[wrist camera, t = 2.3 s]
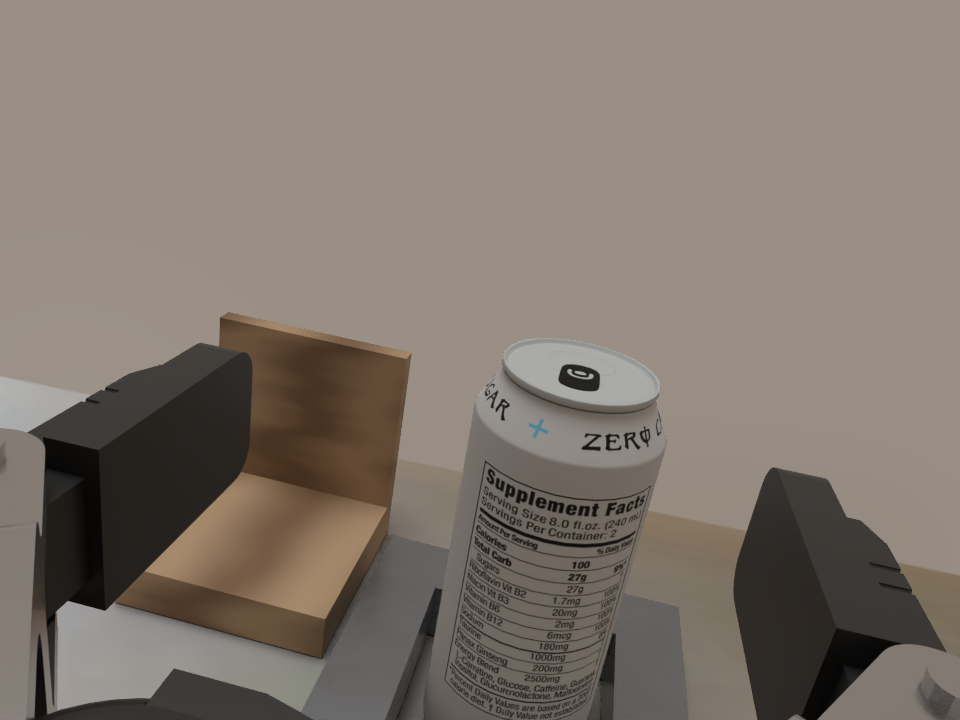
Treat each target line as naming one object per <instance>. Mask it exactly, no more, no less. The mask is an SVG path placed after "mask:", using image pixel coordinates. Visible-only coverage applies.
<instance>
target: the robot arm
mask: <svg viewBox="0 0 960 720" xmlns="http://www.w3.org/2000/svg"><path fill="white" fill-rule="evenodd" d="M252 375H253V367H252V361H251V358H250V356H249V355H248V354H247V353H246V352H241V351H237V350H232V349H227V348H223V347H218V346H213V345H208V344H204V343H199V344H196V345H195V346H193V347H191V348H190V349H188V350H186V351H185V352H183V353H181V354H180V355H178V356H176V357H175V358H173V359H171V360H170V361H168V362H166V363H165V364H163V365H159V366H155V367H152V368H148V369H144V370H141V371H137V372H134V373H130V374H128V375H126V376H124V377H122V378H121V379H119V380H117V381H116V382H114V383H112V384H111V385H109V386H107V387H106V389H105V391H103V390H100V391H98V392H97V393H95V394H93V395H91V396H90V397H88V398H86V401H85V402H79V403H78V404H76V405H74V406H72V407H71V408H69V409H67V410H65V411H64V412H62V413H60V414H59V415H57V416H55V417H53V418H52V419H50V420H48V421H46V422H45V423H43V424H41V425H40V426H38V427H36V428H34V429H33V430H31V431H29V432H27V433H26V432H23V431H18V430H12V429H2V428H0V720H313V719H311V718H310V717H308V716H306V715H304V714H302V713H301V712H299V711H297V710H295V709H293V708H292V707H290V706H288V705H286V704H284V703H283V702H281V701H279V700H277V699H275V698H274V697H272V696H270V695H268V694H266V693H262V692H258V691H255V690H251V689H247V688H244V687H240V686H236V685H233V684H229V683H225V682H222V681H218V680H214V679H211V678H207V677H203V676H200V675H196V674H192V673H189V672H185V671H181V670H178V669H173V670H172V672H171V673H170V674H169V675H168V677H167V678H166V679H165V681H164V682H163V683H162V684H161V686H160V687H159V688H158V690H157V691H156V692H155V693H154V695H153V696H152V697H151V699H147V698H135V699H117V700H108V701H101V702H94V703H88V704H83V705H79V706H75V707H71V708H66V709H62V710H59V711H57V657H58V627H57V613H56V611H57V610H58V609H59V608H60V607H62V606H63V605H64V604H65V603H66V602H67V601H71V602H74V603H78V604H82V605H86V606H89V607H93V608H97V609H101V610H104V611H106V610H107V609H108V608H109V607H110V606H111V605H112V604H113V603H114V602H115V601H116V600H117V599H118V598H119V597H120V596H121V595H122V594H123V593H124V592H125V591H126V590H127V589H128V588H129V587H130V586H131V585H132V584H133V583H134V581H135V580H136V579H137V578H138V577H139V576H140V575H141V574H142V573H143V572H144V571H145V570H146V569H147V568H148V567H149V566H150V565H151V564H152V563H153V562H154V561H155V560H156V559H157V558H158V557H159V556H160V555H161V554H162V553H163V552H164V551H165V550H166V549H167V548H168V547H169V546H170V545H171V544H172V543H173V542H174V541H175V540H176V539H177V538H178V537H179V536H180V535H181V534H182V533H183V532H184V531H185V530H186V529H187V528H188V527H189V526H190V525H191V524H192V523H193V522H194V521H195V520H196V519H197V518H198V517H199V516H200V515H201V514H202V513H203V512H204V511H205V510H206V509H207V508H208V507H209V506H210V505H211V504H212V503H213V502H214V501H215V500H216V499H217V498H218V497H219V496H220V495H221V494H222V493H223V492H224V491H225V490H226V489H227V488H228V487H229V486H230V485H231V484H232V483H233V482H234V481H235V480H236V479H237V477H238V476H239V474H240V473H241V471H242V469H243V467H244V464H245V461H246V458H247V455H248V450H249V443H250V423H251V399H252ZM900 570H901V569H900V567H899V565H898V563H897V562H896V560H895V558H894V556H893V554H892V552H891V551H890V549H889V547H888V545H887V544H886V543H884V542H883V540H881V539H880V538H879V537H878V536H877V535H876V534H875V533H874V532H872V531H871V530H870V529H869V528H868V527H867V526H866V525H865V524H864V523H863V522H861V521H860V520H856V519H852V518H847V517H846V515H845V513H844V511H843V509H842V507H841V505H840V503H839V501H838V499H837V497H836V495H835V493H834V491H833V489H832V487H831V485H830V483H829V481H828V480H827V479H825V478H820V477H816V476H811V475H806V474H802V473H797V472H792V471H788V470H783V469H778V468H771V469H770V470H769V472H768V473H767V475H766V477H765V479H764V481H763V484H762V487H761V490H760V493H759V496H758V499H757V502H756V505H755V508H754V511H753V514H752V517H751V520H750V523H749V526H748V529H747V533H746V536H745V539H744V542H743V545H742V548H741V551H740V554H739V557H738V561H737V565H736V570H735V577H734V602H735V607H736V613H737V618H738V623H739V628H740V633H741V638H742V643H743V648H744V653H745V658H746V663H747V668H748V674H749V679H750V684H751V689H752V694H753V699H754V704H755V709H756V714H757V719H758V720H960V658H958V657H956V656H953V655H951V654H949V653H947V652H946V650H945V649H944V647H943V645H942V643H941V641H940V639H939V638H938V636H937V634H936V632H935V630H934V629H933V627H932V625H931V623H930V621H929V620H928V618H927V616H926V614H925V612H924V610H923V609H922V607H921V605H920V603H919V601H918V600H917V598H916V596H915V595H912V594H911V593H912V589H911V587H910V585H909V583H908V581H907V580H906V578H905V576H904V574H900Z"/></svg>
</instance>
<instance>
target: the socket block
mask: <svg viewBox="0 0 960 720" xmlns="http://www.w3.org/2000/svg"><path fill="white" fill-rule="evenodd" d="M448 556H449V550H448V549H444V548H440V547H436V546H432V545H428V544H424V543H420V542H416V541H412V540H408V539H404V538H400V537H396V536H391V538H390V540H389V542H388V544H387V546H386V548H385V550H384V552H383V554H382V556H381V558H380V560H379V562H378V564H377V565H376V567H375V569H374V571H373V573H372V575H371V577H370V579H369V581H368V583H367V585H366V587H365V589H364V591H363V593H362V595H361V597H360V599H359V601H358V602H357V604H356V606H355V608H354V610H353V612H352V614H351V616H350V618H349V620H348V622H347V624H346V626H345V628H344V630H343V632H342V634H341V636H340V638H339V639H338V641H337V643H336V645H335V647H334V649H333V651H332V653H331V655H330V657H329V659H328V661H327V663H326V665H325V667H324V669H323V671H322V673H321V675H320V677H319V678H318V680H317V682H316V684H315V686H314V688H313V690H312V692H311V694H310V696H309V698H308V700H307V702H306V704H305V706H304V708H303V710H302V712H301V713H302V714H304V715H306V716H308V717H310V718H311V719H313V720H396V719H397V717H398V714H399V711H400V708H401V705H402V703H403V700H404V697H405V694H406V692H407V689H408V686H409V683H410V681H411V678H412V675H413V672H414V670H415V667H416V664H417V661H418V658H419V656H420V653H421V650H422V647H423V645H424V642H425V639H426V636H427V634H429V635H433V636H435V631H436V625H437V619H438V614H439V608H440V602H441V596H442V590H443V585H444V579H445V573H446V567H447V562H448ZM599 679H600V680H602V698H601V718H600V720H688V711H687V699H686V688H685V676H684V664H683V652H682V641H681V629H680V617H679V607H676V606H672V605H668V604H664V603H660V602H656V601H652V600H648V599H644V598H640V597H636V596H632V595H628V594H623V598H622V601H621V605H620V608H619V612H618V615H617V619H616V622H615V626H614V629H613V633H612V636H611V640H610V643H609V647H608V650H607V654H606V657H605V660H604V664H603V667H602V671H601V674H600V678H599Z"/></svg>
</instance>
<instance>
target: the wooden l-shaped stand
mask: <svg viewBox="0 0 960 720" xmlns="http://www.w3.org/2000/svg"><path fill="white" fill-rule="evenodd" d="M219 340H220V341H219V347H223V348H227V349H232V350H237V351H241V352H246V353H247V354H248V355H249V356H250V358H251V361H252V367H253V375H252V399H251V423H250V443H249V450H248V455H247V458H246V461H245V464H244V467H243V469H242V471H241V473H240V474H239V476H238V477H237V479H236V480H235V481H234V482H233V483H232V484H231V485H230V486H229V487H228V488H227V489H226V490H225V491H224V492H223V493H222V494H221V495H220V496H219V497H218V498H217V499H216V500H215V501H214V502H213V503H212V504H211V505H210V506H209V507H208V508H207V509H206V510H205V511H204V512H203V513H202V514H201V515H200V516H199V517H198V518H197V519H196V520H195V521H194V522H193V523H192V524H191V525H190V526H189V527H188V528H187V529H186V530H185V531H184V532H183V533H182V534H181V535H180V536H179V537H178V538H177V539H176V540H175V541H174V542H173V543H172V544H171V545H170V546H169V547H168V548H167V549H166V550H165V551H164V552H163V553H162V554H161V555H160V556H159V557H158V558H157V559H156V560H155V561H154V562H153V563H152V564H151V565H150V566H149V567H148V568H147V569H146V570H145V571H144V572H143V573H142V574H141V575H140V576H139V577H138V578H137V579H136V580H135V581H134V583H133V584H132V585H131V586H130V587H129V588H128V589H127V590H126V591H125V592H124V593H123V594H122V595H121V596H120V597H119V598H118V599H117V600H116V601H115V602H116V603H120V604H124V605H127V606H131V607H135V608H138V609H142V610H146V611H149V612H153V613H157V614H160V615H164V616H168V617H171V618H175V619H179V620H182V621H186V622H190V623H194V624H197V625H201V626H205V627H208V628H212V629H216V630H219V631H223V632H227V633H230V634H234V635H238V636H241V637H245V638H249V639H252V640H256V641H260V642H263V643H267V644H271V645H274V646H278V647H282V648H285V649H289V650H293V651H297V652H300V653H304V654H308V655H311V656H315V657H319V658H322V656H323V654H324V652H325V650H326V648H327V646H328V645H329V643H330V641H331V639H332V637H333V635H334V633H335V631H336V629H337V627H338V625H339V624H340V622H341V620H342V618H343V616H344V614H345V612H346V610H347V608H348V606H349V605H350V603H351V601H352V599H353V597H354V595H355V593H356V591H357V589H358V587H359V586H360V584H361V582H362V580H363V578H364V576H365V574H366V572H367V570H368V568H369V567H370V565H371V563H372V561H373V559H374V557H375V555H376V553H377V551H378V549H379V548H380V546H381V544H382V542H383V540H384V538H385V536H386V534H387V532H388V525H389V517H390V510H391V502H392V495H393V487H394V480H395V472H396V465H397V457H398V450H399V442H400V435H401V427H402V419H403V412H404V405H405V398H406V390H407V383H408V375H409V368H410V360H411V353H410V352H405V351H401V350H396V349H392V348H387V347H382V346H378V345H374V344H369V343H364V342H360V341H356V340H351V339H346V338H342V337H338V336H333V335H329V334H324V333H319V332H314V331H310V330H305V329H301V328H296V327H292V326H288V325H283V324H279V323H274V322H269V321H265V320H261V319H256V318H252V317H247V316H242V315H238V314H234V313H229V312H228V313H227V314H225V315H223V316H222V317H220V339H219Z"/></svg>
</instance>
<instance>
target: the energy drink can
mask: <svg viewBox="0 0 960 720" xmlns="http://www.w3.org/2000/svg"><path fill="white" fill-rule="evenodd" d="M502 365H503V366H502V367H501V368H500V370H499V371H498V372H497V373H496V374H495V375H494V376H493V378H492V379H491V380H490V381H489V382H488V383H487V384H486V385H485V387H484V388H483V389H482V391H481V392H480V393H479V394H478V396H477V397H476V401H475V406H474V412H473V417H472V423H471V429H470V434H469V440H468V446H467V452H466V457H465V463H464V469H463V475H462V481H461V486H460V492H459V498H458V504H457V510H456V515H455V521H454V527H453V533H452V538H451V544H450V550H449V556H448V562H447V567H446V573H445V579H444V585H443V590H442V596H441V602H440V608H439V614H438V619H437V625H436V631H435V637H434V643H433V648H432V654H431V660H430V666H429V671H428V677H427V683H426V689H425V695H424V715H425V718H426V720H588V716H589V713H590V709H591V706H592V702H593V699H594V695H595V692H596V688H597V685H598V681H599V678H600V674H601V671H602V667H603V664H604V660H605V657H606V654H607V650H608V647H609V643H610V640H611V636H612V633H613V629H614V626H615V622H616V619H617V615H618V612H619V608H620V605H621V601H622V598H623V594H624V591H625V588H626V584H627V581H628V577H629V574H630V570H631V567H632V563H633V560H634V556H635V553H636V549H637V546H638V542H639V539H640V535H641V532H642V528H643V525H644V521H645V518H646V515H647V511H648V508H649V504H650V501H651V497H652V493H653V490H654V487H655V483H656V480H657V476H658V473H659V469H660V466H661V462H662V458H663V455H664V452H665V448H666V441H667V440H666V436H665V432H664V429H663V425H662V422H661V418H660V415H659V411H658V408H657V403H656V400H657V398H658V397H659V392H660V384H659V381H658V379H657V378H656V376H655V375H654V373H652V372H651V371H650V370H649V369H648V368H647V367H645V366H644V365H642V364H641V363H639V362H638V361H636V360H634V359H632V358H630V357H628V356H626V355H624V354H621V353H619V352H616V351H614V350H611V349H607V348H605V347H602V346H598V345H594V344H590V343H586V342H580V341H574V340H568V339H557V338H538V339H537V338H536V339H529V340H523V341H520V342H517V343H514V344H513V345H511V346H509V347H508V348H507V349H506V351H505V352H504V354H503V360H502Z"/></svg>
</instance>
